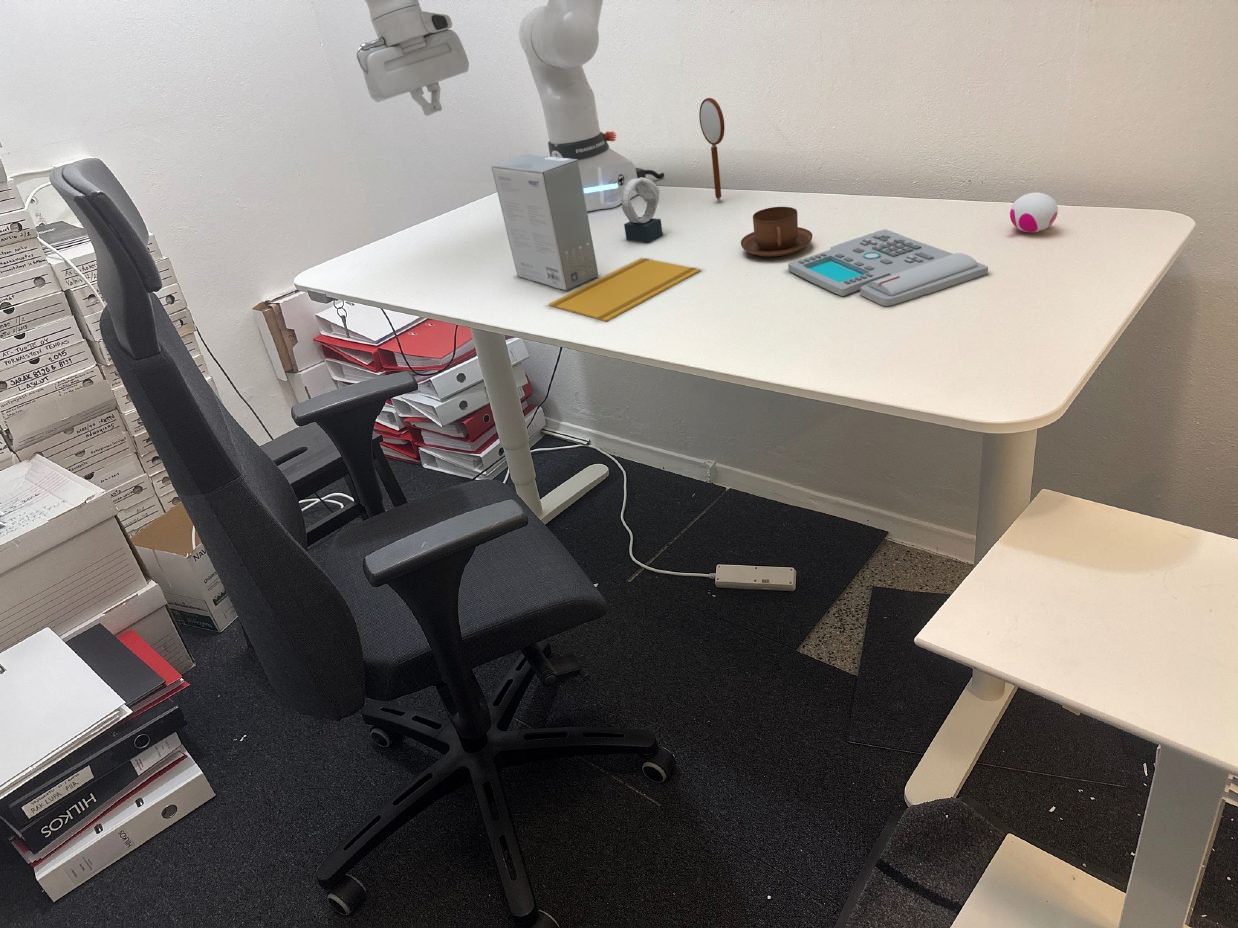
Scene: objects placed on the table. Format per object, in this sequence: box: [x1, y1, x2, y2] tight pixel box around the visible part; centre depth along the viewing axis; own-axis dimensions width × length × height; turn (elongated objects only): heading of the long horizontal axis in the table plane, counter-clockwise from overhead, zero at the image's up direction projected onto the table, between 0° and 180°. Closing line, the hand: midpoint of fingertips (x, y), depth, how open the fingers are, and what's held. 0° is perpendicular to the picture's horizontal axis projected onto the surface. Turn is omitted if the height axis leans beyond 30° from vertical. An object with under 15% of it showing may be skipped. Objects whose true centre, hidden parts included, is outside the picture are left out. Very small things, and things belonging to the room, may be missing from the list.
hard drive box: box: [491, 154, 599, 291], centre depth 141 cm, size 16×8×20 cm, turn 41°
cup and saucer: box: [740, 206, 813, 257], centre depth 138 cm, size 12×12×6 cm
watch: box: [621, 178, 664, 244], centre depth 154 cm, size 6×8×11 cm
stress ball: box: [1009, 191, 1059, 236], centre depth 128 cm, size 8×8×7 cm
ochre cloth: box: [548, 257, 701, 322], centre depth 136 cm, size 22×14×1 cm, turn 134°
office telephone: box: [787, 228, 989, 307], centre depth 124 cm, size 23×3×20 cm
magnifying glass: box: [698, 97, 725, 203], centre depth 163 cm, size 9×2×20 cm, turn 23°
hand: (434, 113), depth 150 cm, fingers closed
